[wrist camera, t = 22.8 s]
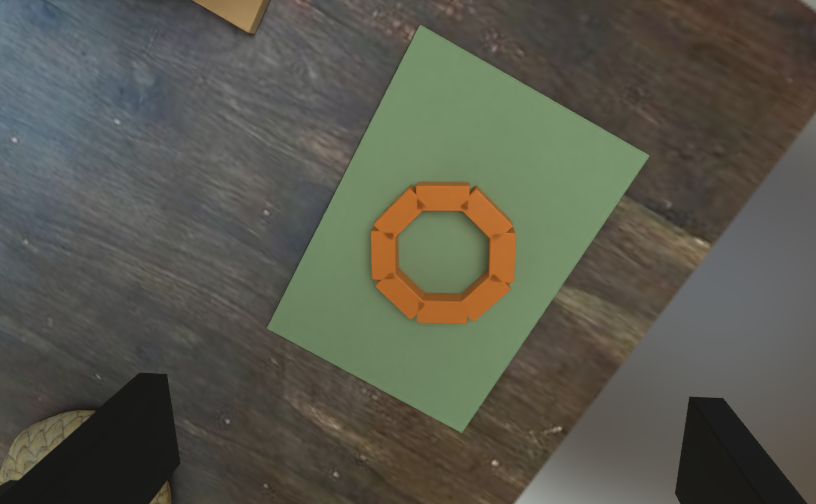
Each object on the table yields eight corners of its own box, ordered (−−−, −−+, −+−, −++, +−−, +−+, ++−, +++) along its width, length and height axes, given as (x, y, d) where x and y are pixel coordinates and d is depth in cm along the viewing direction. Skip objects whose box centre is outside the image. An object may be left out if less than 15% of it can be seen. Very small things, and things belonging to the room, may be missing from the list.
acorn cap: (2, 472, 42) (0, 621, 36) (-5, 394, 35) (-8, 562, 30) (146, 445, 47) (164, 571, 42) (164, 373, 41) (188, 511, 35)
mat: (420, 25, 30) (419, 24, 30) (647, 154, 31) (649, 155, 30) (269, 325, 36) (266, 328, 36) (462, 428, 37) (462, 433, 36)
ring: (373, 181, 32) (368, 185, 31) (516, 181, 31) (518, 186, 30) (376, 312, 34) (372, 321, 33) (510, 316, 34) (512, 326, 32)
